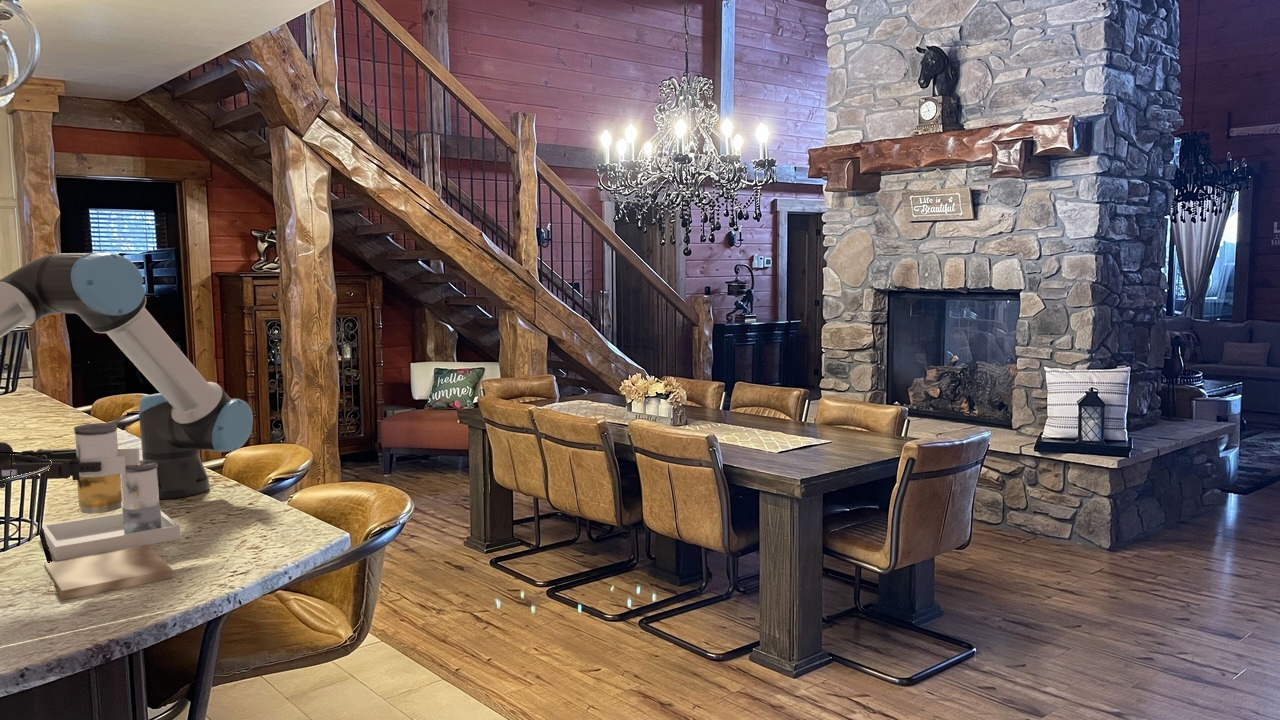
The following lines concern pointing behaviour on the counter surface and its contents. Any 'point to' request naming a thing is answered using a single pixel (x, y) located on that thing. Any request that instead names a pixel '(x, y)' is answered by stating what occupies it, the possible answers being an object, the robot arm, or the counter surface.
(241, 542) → the counter surface
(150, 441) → the robot arm
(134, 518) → the clear grey lidded jar
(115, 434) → the lidded honey jar
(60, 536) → the white shaker tray
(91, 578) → the board
